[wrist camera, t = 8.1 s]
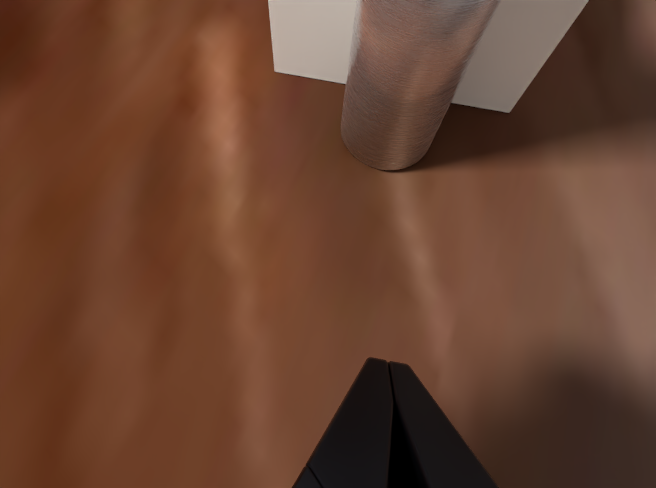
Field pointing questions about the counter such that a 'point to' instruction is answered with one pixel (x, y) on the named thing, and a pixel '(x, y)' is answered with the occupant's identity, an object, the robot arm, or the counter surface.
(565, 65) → the counter surface
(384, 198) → the counter surface
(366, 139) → the silver jar
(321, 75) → the block
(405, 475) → the robot arm
